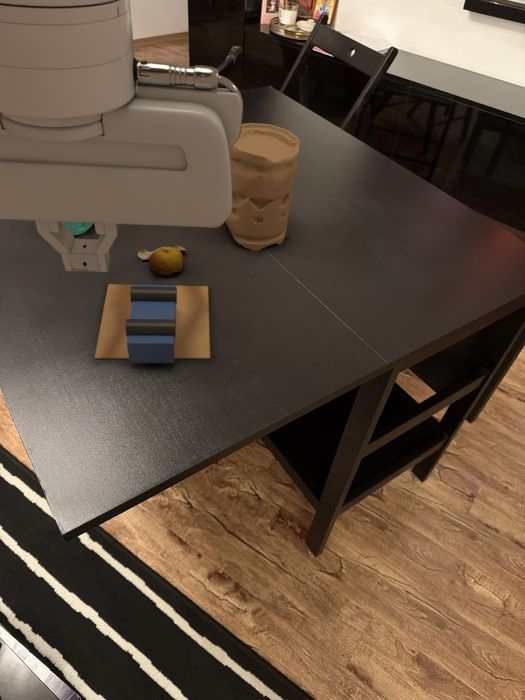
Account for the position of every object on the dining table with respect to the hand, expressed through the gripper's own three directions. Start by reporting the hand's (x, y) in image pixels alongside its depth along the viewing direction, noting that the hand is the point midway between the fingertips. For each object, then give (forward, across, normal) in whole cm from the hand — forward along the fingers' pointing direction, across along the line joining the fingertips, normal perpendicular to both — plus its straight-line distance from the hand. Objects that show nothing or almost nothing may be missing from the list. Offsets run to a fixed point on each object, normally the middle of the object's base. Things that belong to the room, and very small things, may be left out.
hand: (88, 266), depth 35 cm
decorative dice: (+29, +15, -50) cm, 60 cm away
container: (+29, -19, -50) cm, 61 cm away
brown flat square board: (+29, -2, -25) cm, 38 cm away
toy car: (+26, -2, -15) cm, 30 cm away
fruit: (+29, -3, -40) cm, 50 cm away
